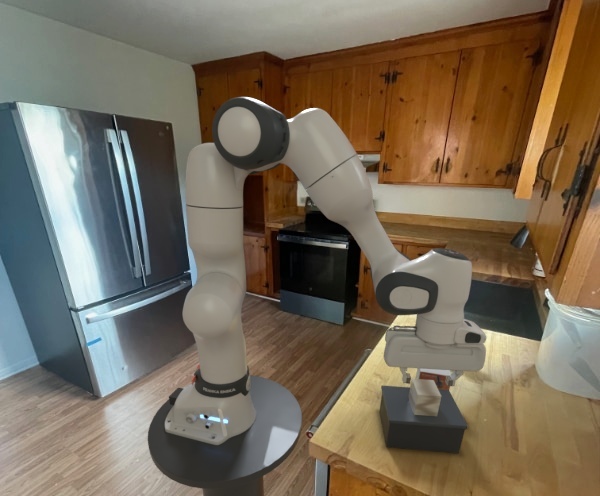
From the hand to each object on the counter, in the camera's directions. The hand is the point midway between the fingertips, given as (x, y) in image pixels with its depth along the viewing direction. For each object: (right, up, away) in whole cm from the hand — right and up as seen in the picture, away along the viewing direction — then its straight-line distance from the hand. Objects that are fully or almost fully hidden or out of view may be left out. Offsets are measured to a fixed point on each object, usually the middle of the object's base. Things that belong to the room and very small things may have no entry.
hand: (427, 383), depth 73 cm
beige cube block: (0, -6, +2) cm, 7 cm away
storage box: (0, -13, +6) cm, 15 cm away
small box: (+7, -9, +17) cm, 20 cm away
